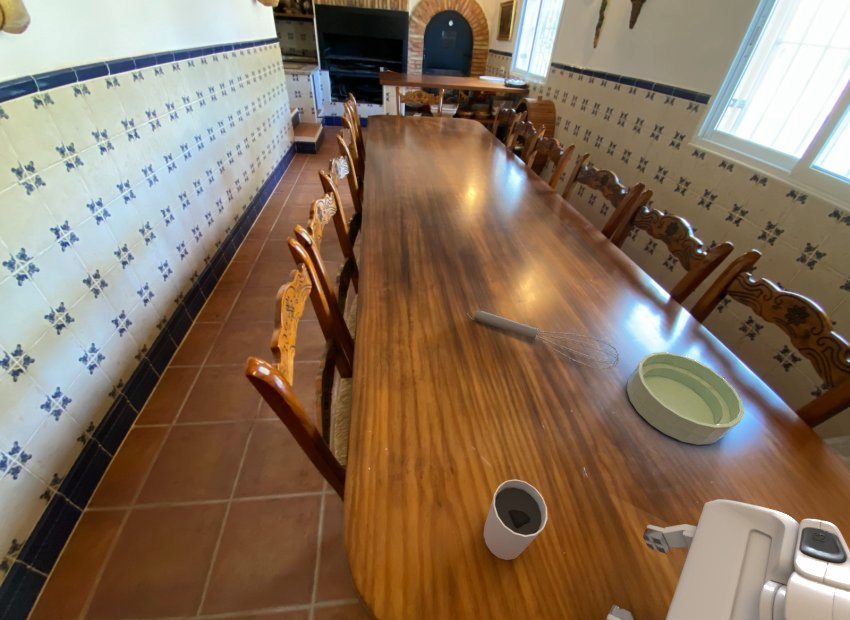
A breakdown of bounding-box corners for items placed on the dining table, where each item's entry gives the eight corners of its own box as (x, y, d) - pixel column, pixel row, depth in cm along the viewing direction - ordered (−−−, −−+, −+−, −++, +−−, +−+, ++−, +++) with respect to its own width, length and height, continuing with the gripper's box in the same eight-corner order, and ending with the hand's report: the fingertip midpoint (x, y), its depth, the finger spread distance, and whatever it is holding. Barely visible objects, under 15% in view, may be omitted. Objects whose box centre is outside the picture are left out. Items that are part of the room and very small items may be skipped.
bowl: (719, 394, 73) (737, 375, 69) (727, 463, 61) (750, 445, 57) (629, 360, 79) (642, 340, 75) (621, 417, 67) (635, 398, 63)
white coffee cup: (537, 552, 49) (559, 524, 43) (495, 572, 47) (511, 546, 40) (511, 504, 54) (527, 472, 47) (472, 520, 52) (483, 489, 45)
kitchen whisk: (471, 309, 89) (475, 288, 85) (613, 363, 78) (625, 342, 74) (461, 323, 85) (465, 302, 81) (610, 382, 74) (623, 361, 70)
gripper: (858, 909, 18) (599, 712, 29) (858, 569, 30) (673, 521, 41) (815, 815, 17) (567, 650, 29) (832, 506, 29) (652, 475, 40)
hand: (630, 573), depth 35 cm, fingers open, 8 cm apart
